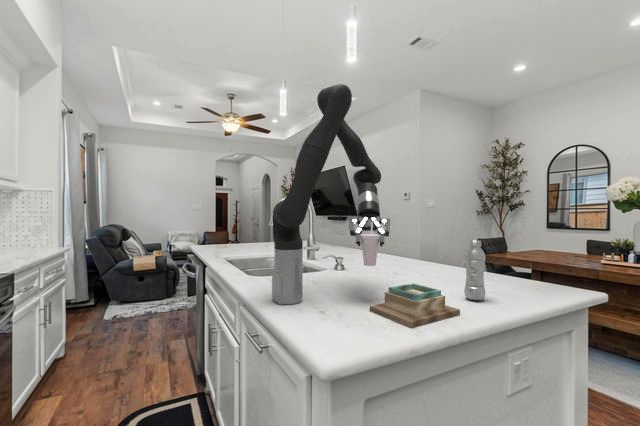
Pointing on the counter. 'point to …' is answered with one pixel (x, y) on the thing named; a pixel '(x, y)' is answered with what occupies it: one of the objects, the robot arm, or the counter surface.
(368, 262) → the smoothie
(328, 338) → the counter surface
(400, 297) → the pedestal
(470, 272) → the plastic bottle
